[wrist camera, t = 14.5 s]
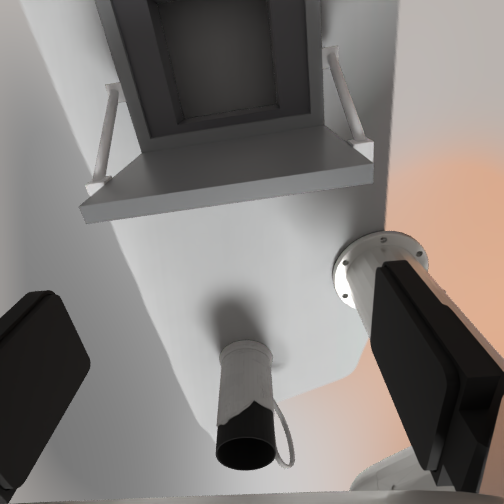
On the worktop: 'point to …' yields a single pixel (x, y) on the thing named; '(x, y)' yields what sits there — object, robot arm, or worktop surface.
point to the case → (222, 123)
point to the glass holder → (248, 409)
